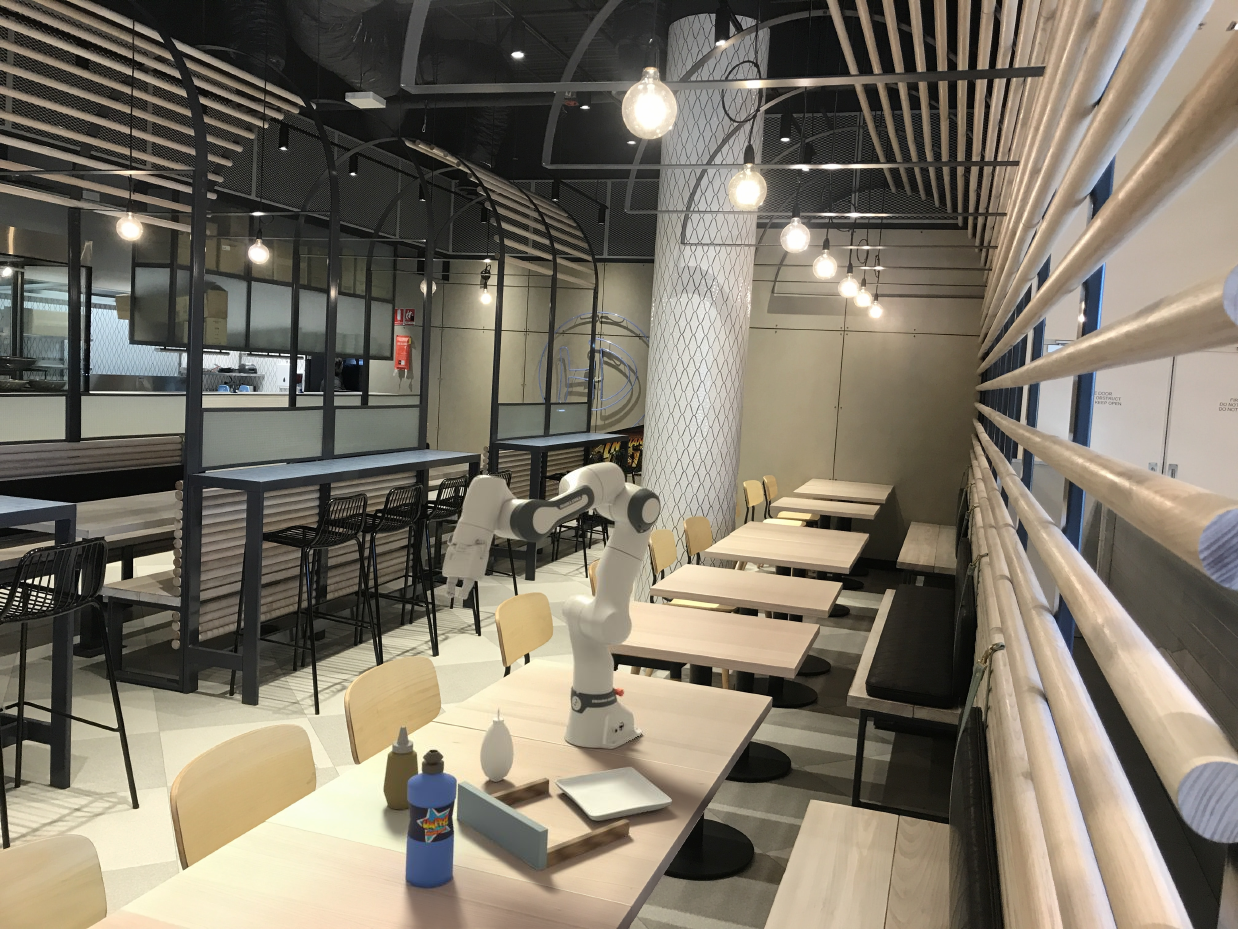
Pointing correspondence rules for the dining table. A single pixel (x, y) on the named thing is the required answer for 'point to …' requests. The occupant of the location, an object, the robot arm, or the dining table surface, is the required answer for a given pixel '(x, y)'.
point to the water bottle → (430, 824)
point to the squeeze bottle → (400, 771)
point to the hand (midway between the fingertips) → (455, 597)
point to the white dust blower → (497, 750)
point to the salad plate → (613, 793)
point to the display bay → (525, 825)
